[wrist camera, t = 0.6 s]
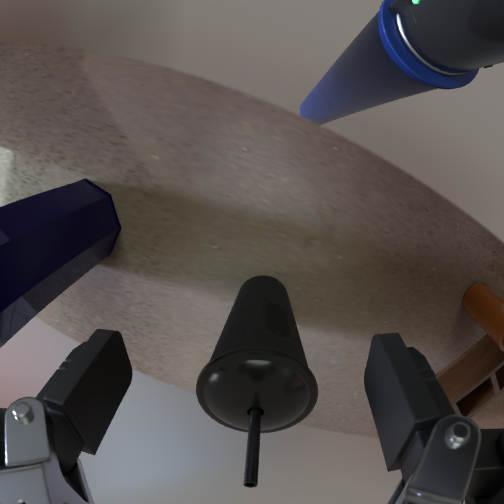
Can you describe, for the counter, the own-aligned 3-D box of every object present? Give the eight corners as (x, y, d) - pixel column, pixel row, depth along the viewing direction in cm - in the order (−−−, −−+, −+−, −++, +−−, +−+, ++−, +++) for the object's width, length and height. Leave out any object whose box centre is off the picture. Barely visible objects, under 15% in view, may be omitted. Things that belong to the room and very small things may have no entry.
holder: (395, 402, 35) (406, 431, 30) (507, 315, 30) (529, 336, 25) (411, 421, 37) (422, 448, 31) (513, 343, 32) (532, 364, 26)
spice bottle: (458, 296, 29) (504, 344, 20) (482, 275, 28) (532, 317, 19) (467, 318, 30) (509, 366, 21) (490, 297, 29) (535, 340, 20)
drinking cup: (212, 275, 30) (142, 450, 11) (287, 251, 29) (310, 430, 10) (240, 337, 32) (213, 512, 14) (310, 317, 31) (340, 498, 12)
